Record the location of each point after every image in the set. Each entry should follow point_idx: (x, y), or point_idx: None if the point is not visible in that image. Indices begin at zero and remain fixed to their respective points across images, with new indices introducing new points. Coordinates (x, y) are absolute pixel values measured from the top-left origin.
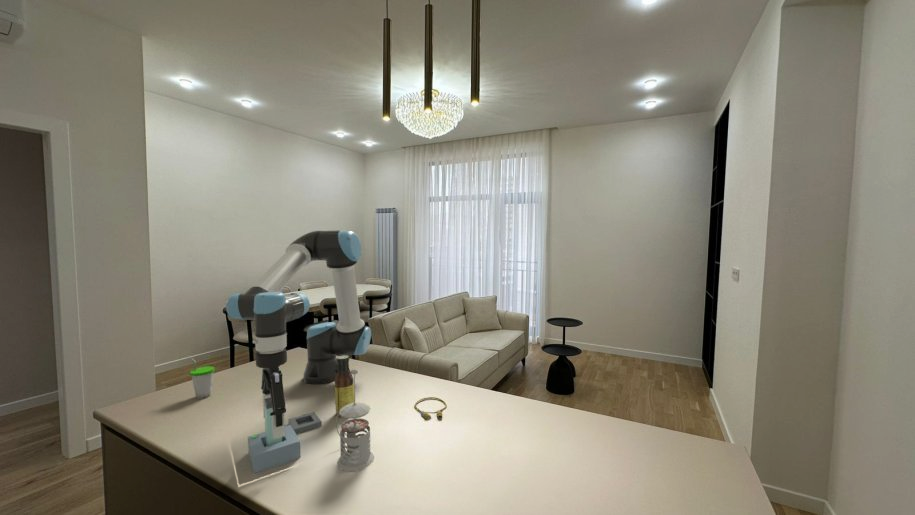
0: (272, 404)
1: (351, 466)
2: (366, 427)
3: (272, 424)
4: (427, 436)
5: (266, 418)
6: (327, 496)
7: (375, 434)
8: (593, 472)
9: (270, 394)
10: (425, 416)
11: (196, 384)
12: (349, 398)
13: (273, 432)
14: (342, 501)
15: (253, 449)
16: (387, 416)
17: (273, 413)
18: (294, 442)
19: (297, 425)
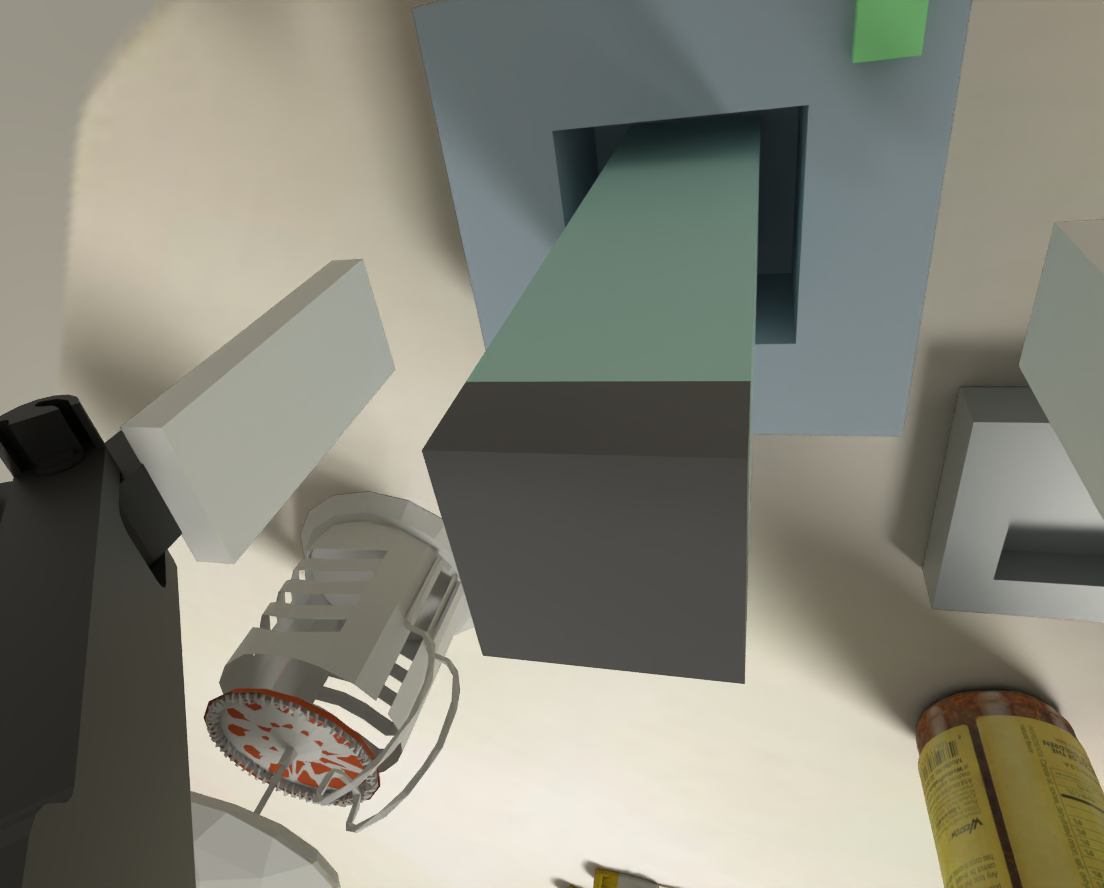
0: (23, 549)
1: (314, 540)
2: (250, 768)
3: (254, 339)
4: (455, 804)
5: (575, 288)
6: (134, 383)
7: (592, 713)
8: None
9: (61, 700)
10: (598, 883)
11: None
12: (942, 873)
13: (292, 299)
14: (93, 424)
15: (554, 4)
16: (750, 818)
17: (17, 457)
18: None
19: (1036, 460)
